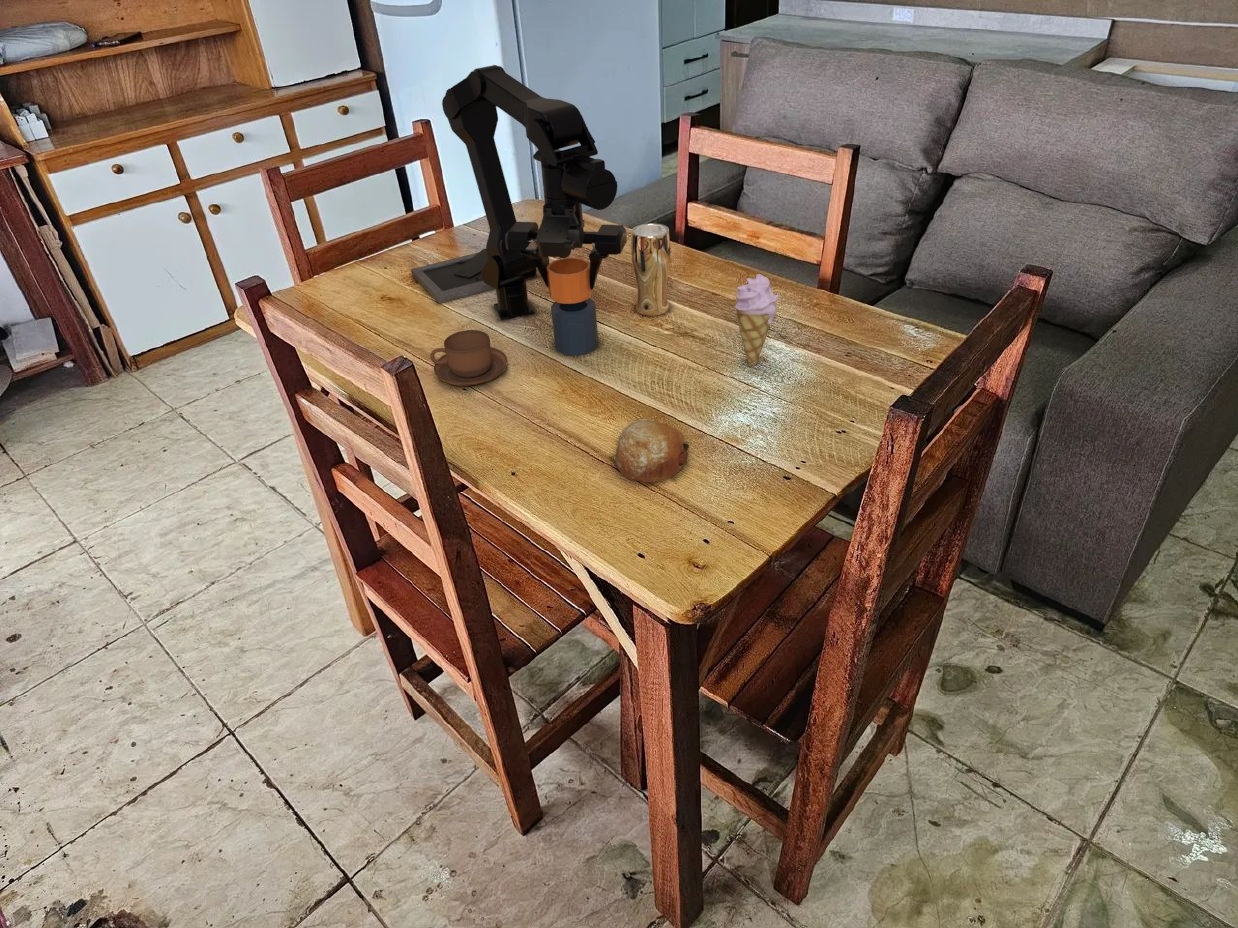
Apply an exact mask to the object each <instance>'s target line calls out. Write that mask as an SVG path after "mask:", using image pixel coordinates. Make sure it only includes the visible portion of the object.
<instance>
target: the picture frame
mask: <svg viewBox="0 0 1238 928" xmlns="http://www.w3.org/2000/svg"><path fill="white" fill-rule="evenodd" d="M487 260H488V256H487V251H486V248H482V249H481V250H480V251H477V252H474V253H469V254H466V255H462V256H458V257H453V258H450V259H446V260H442V261H439V262H438V261H437V262H434V263H430V264H425V265H421V266H418V267H414V268H411V269H410V271H411V276H412V277H413V278H414V279H415V280H416V281H417V283H418V284H419V285H420V286H421V287H422V288H423V289H424V290H425V291H426V292H427V293H428V294H429V295H430V296H431V297H432V298H433V299H434V300H435V301H436V303H437V304H444V303H447V302H451V301H455V300H459V299H462V298H465V297H469V296H470V297H471V296H473V295H477V294H481V293H484V292H489V291H491V290H495V289H494V288H493V287H491V286H489V285H487V284H486V283H484V281H483V277H482V274H481V270H482V269H483V267H484V265H485V264H486V262H487ZM537 271H538V269H536V276H535V277H531V278H528V279H526V281H528V280H533V279H536V278H538V272H537Z"/></svg>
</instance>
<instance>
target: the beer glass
mask: <svg viewBox="0 0 1238 928" xmlns="http://www.w3.org/2000/svg"><path fill="white" fill-rule="evenodd" d="M670 239H671V238H670V228H669V227H668V226H666V225H665V224H662V223H643V224H638V225H636V226H634V227H633V228H632V229H631V241H630V242H631V243H630V254H631V265H632V270H633V274H634V275H633V276H634V280H635V283H636V290H637V297H636V304H635V310H636V312H637V313H638V314H640V315H643V316H646V317H647V316H648V317H655V316H660V315H664V314H665V313H666V312H668V311H669V308H670V306H669V302H668V295H667V284H668V278H669V274H670V273H669V272H670V265H671V240H670Z"/></svg>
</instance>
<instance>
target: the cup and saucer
mask: <svg viewBox="0 0 1238 928" xmlns="http://www.w3.org/2000/svg"><path fill="white" fill-rule="evenodd" d="M443 346H444V347H437V348H434V349H432V351H431V352H430V355H429V358H430V361H431V362H432V363H433V364H434V365H433V372H434V374H435V375H436V377H437V378H438V379H439V380H441V381H443V382H444V383H447V384H450V385H454V386H461V387H467V386H470V387H471V386H476V385H481V384H485V383H487V382H490V381H492V380H494V379H495V378H497V377H498V376H500V375H501V374H502V373H503V372H504V371H505V369H506V368H507V365H508V357H507V355H506V353H504V351H502V350H500V349H498V348H495V347H492V346H491V339H490V336H489V334H488V333H487V332H485V331H482V330H478V329H467V330H461V331H457V332H455V333H452V334H449V335H448V336H447V337H446V338H444V340H443ZM437 353H444V354H443V355H442V356H440V357H439V358H438V359H436V358H435V356H436V354H437Z"/></svg>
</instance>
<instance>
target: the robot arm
mask: <svg viewBox="0 0 1238 928" xmlns="http://www.w3.org/2000/svg"><path fill="white" fill-rule="evenodd" d="M441 107H442V110H443V113H444V115H445V117H446V118H447V121H448V124H449V126H450V129H451V131H452V133H454V135H456V136H457V138H458V139H460V141H461V142H463V144H465V148H466V150H467V154H468V158H469V162H470V164H471V168H472V171H473V175H474V179H475V181H476V186H477V189H478V192H479V195H480V199H481V203H482V207H483V210H484V213H485V217H486V220H487V224H488V227H489V232H488V237H487V240H486V245H485V249H486V251H487V256H488V260H487V262H486V264H485V265H484V267H483V269H482V270H481V274H482V277H483V281H484V283H486V284H487V285H489V286H491V287H493V288H494V289H493V290H495V296H496V301H497V303H493V308H494V310H495V312H496V314H497V316H498V318H499V320H501V321H502V320H509V319H513V318H515V319H516V318H519V317H524V316H529V315H534V314H535V310H534V308H533V307H532V305H531V303H530V301H529V296H528V288H527V280H526V279H528V278H531V277H535V276H536V270H537V271H538V272H539V275H540V277H541V279H542V281H543V283H544V284H545V286H546V288H549V286H548V276H547V266H548V264H550V258H558V259H562V258H569V257H570V256H571V254H572V250H573V251H574V250H575V249H582V248H583V245H591V251H590V253H589V254H588V259H589V263H590V289H591V290H592V291H593V290H594V288H595V285H596V282H597V279H598V274H599V272H600V268H601V265H602V262H603V260H604V259H608V258H609V256H610V255H615V256H617V255H620V254H622V252H623V250H624V248H625V247H626V244H627V243H628V234H627V233H628V232H627V231H628V230H627V229H626V228H625V226H624V225H622V224H601V225H600V227H599V228H598V230H597V231H585V230H584V228H585V219H584V216H583V205H584V206H586V207H588V208H591V209H593V210H597V211H602V210H605V209H607V208H608V207H610V206H611V204H612V203H613V202H614V201H615V198H616V196H617V192H618V181H617V179H616V177H615V175H614V173H613V172H612V171H611V170H609V169H606V161H605V160H604V159H601V158H593V157H594V156H597V155H598V154H599V151H598V148H597V147H596V144H595V143H596V141H595V139H594V137H593V135H592V134H591V132H590V130H589V128H588V126H587V124H586V122H585V119H584V117H583V115H582V113H581V111H580V110H579V109H578V107H577V106H576V105H574V104H573V103H571V102H567V101H565V100H562V99H555V98H547V97H543V96H541V95H540V94H538V93H537V92H535V91H533V90H532V89H531V88H529V87H527V86H526V85H524V84H523V83H522V82H520V81H518V80H517V79H516V78H514V77H513V76H511V75H510V74H509V73H507V72H506V70H505V68H503V67H502V66H501V65H498V64H492V65H487V66H482V67H477V68H475V69H473V70H472V71H471V72H469V74H468V75H467V76H466V77H465V78H463V79H462V80H460V81H459V82H457V83H455V84H454V85H453V86H452V87H450V88H448V89H446V90H445V94H444V96H443V98H442V100H441ZM497 108H498V109H500V110H501V111H502V112H504V113H505V114H506V115H508V116H510V117H511V118H512V119H514V120H515V121H517V122H518V123H520V124H521V125H522V126H523V127H524V129H525V135H526V138H527V139H528V140H529V141H530V142H531V144H532V145H534V146H535V148H536V149H537V151H535V152H534V153H533V155H532V158H533V160H534V161H538V162H540V169H541V179H542V180H541V181H542V188H543V199H544V203H543V205H542V219H541V222H540V225H538V222H537V221H517V218H516V214H515V211H514V207H513V203H512V200H511V196H510V193H509V188H508V185H507V181H506V178H505V174H504V171H503V165H502V162H501V159H500V155H499V152H498V148H497V144H496V141H495V140H496V139H495V134H496V130H497V126H498V121H499V115H498V109H497ZM578 144H579V145H578ZM575 145H577V146H575ZM572 146H573V147H572ZM568 147H570V148H568ZM564 148H566V149H564ZM549 257H550V258H549Z"/></svg>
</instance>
